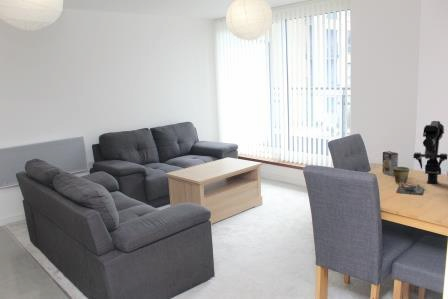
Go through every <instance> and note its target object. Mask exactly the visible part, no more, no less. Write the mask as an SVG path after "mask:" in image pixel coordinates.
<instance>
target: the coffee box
mask: <svg viewBox="0 0 448 299" xmlns="http://www.w3.org/2000/svg"><path fill="white" fill-rule="evenodd" d="M398 159H399V153H398V152H394V151H389V150H387V151H382V174H385V175H388V176H394V171H393V168H394V167H399V166H398V164H399V160H398Z"/></svg>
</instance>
